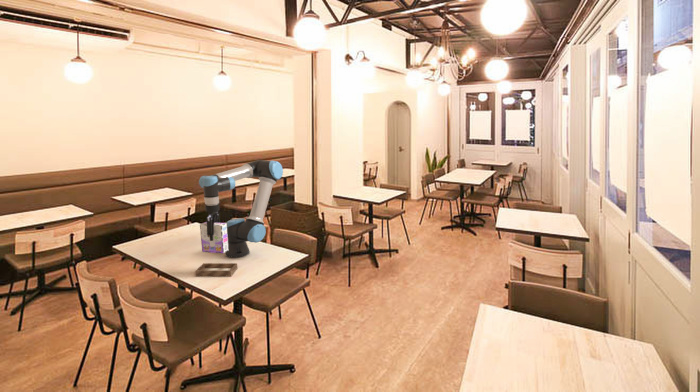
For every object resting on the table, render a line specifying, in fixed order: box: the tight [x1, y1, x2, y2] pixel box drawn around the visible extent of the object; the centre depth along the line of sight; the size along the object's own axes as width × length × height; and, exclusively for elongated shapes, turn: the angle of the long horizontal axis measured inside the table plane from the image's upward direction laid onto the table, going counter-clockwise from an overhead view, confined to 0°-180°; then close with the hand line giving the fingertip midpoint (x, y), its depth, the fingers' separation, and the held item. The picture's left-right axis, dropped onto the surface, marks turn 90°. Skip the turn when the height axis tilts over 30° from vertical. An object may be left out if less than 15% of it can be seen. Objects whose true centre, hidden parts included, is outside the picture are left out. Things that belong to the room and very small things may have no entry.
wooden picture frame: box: [194, 262, 238, 278], centre depth 227 cm, size 20×12×3 cm, turn 88°
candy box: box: [199, 221, 228, 254], centre depth 223 cm, size 14×6×16 cm, turn 76°
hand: (214, 243), depth 224 cm, fingers closed on candy box, 7 cm apart
